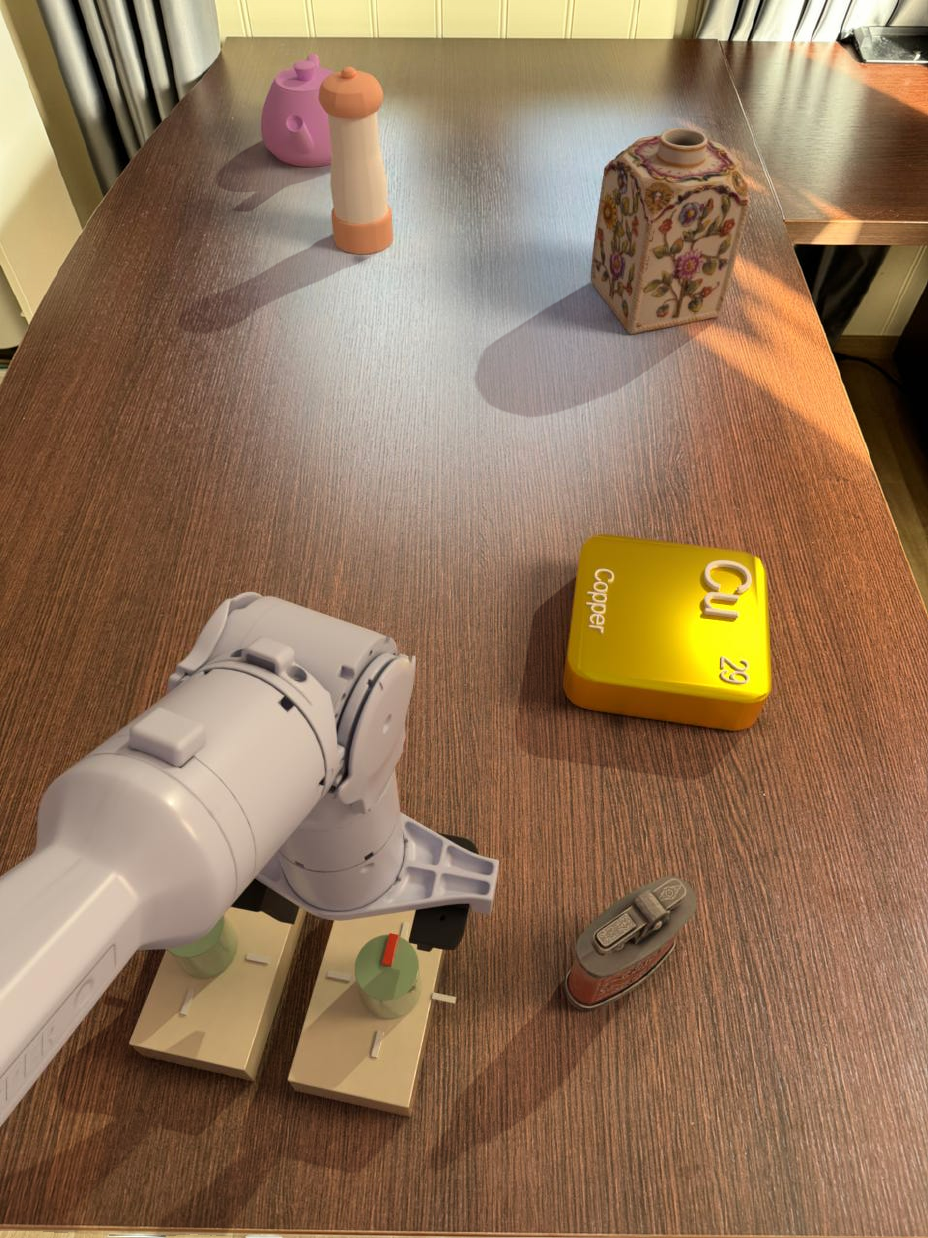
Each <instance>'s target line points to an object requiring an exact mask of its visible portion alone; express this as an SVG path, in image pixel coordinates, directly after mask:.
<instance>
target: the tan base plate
mask: <svg viewBox="0 0 928 1238" xmlns="http://www.w3.org/2000/svg"><path fill="white" fill-rule="evenodd" d="M307 913H308V912H307V911H305V910H304V909H302V908H299V911H298V914H297V917H296V920H295V924H294V925H293V924H288V923H283V922H279V921H277V920H276V919H274V918H272V917H270V916H269V915H267V914H265V913H264V912H262V911H260V912H253V911H248V910H243V909H238V908H233V907H230V908H229V909H228V910H227V911H226V912H225V915H226V917H227V919H228V920H229V922H230V924H231V926H232V927H233V929H234V931H235V933H236V935H237V941H238V946H237V951H236V955H235V957H234V959H233V961H232V962H231V964H230V965H229V966H228V967H227V968H226V969H225V970H224V971H223V972H221V973H220V974H218V975H216V976H213V977H210V978H195V977H192V976H190V975H189V974H187V973H186V972H185V971H184V970H183V969H182V968H181V966H180V965H179V964H178V963H177V962H176V960H175V959H174V958H173V957H172V955H171V954H170V953H169V952H168V950H167V949H165V951H164V954H163V957H162V959H161V962H160V964H159V967H158V969H157V971H156V975H155V977H154V979H153V982H152V984H151V987H150V990H149V992H148V994H147V997H146V999H145V1001H144V1004H143V1006H142V1009H141V1011H140V1013H139V1014H140V1015H139V1017H138V1019H137V1022H136V1024H135V1027H134V1030H133V1032H132V1035H131V1037H130V1040H129V1041H128V1045H129V1046H131V1047H132V1048H133V1049H134V1050H136V1051H137V1052H138V1053H139V1054H141V1055H142V1056H143V1057H146V1058H150V1059H155V1060H159V1061H164V1062H168V1063H171V1064H177V1065H182V1066H186V1067H191V1068H195V1069H198V1070H203V1071H208V1072H212V1073H216V1074H221V1075H225V1076H229V1077H233V1078H238V1079H243V1080H247V1081H251V1082H254V1081H255V1079H256V1076H257V1073H258V1070H259V1067H260V1064H261V1060H262V1057H263V1054H264V1051H265V1048H266V1044H267V1042H268V1038H269V1034H270V1032H271V1028H272V1025H273V1021H274V1019H275V1017H276V1016H275V1015H276V1012H277V1009H278V1006H279V1003H280V1001H281V1000H280V999H281V996H282V994H283V993H282V992H283V990H284V987H285V983H286V980H287V976H288V974H289V971H290V967H291V965H292V962H293V958H294V955H295V951H296V948H297V945H298V941H299V938H300V935H301V932H302V928H303V926H304V922H305V919H306V916H307Z"/></svg>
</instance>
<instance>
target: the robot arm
mask: <svg viewBox="0 0 928 1238" xmlns="http://www.w3.org/2000/svg"><path fill="white" fill-rule="evenodd" d="M416 668H417V657H416V655H412V656H411V658H410V657H409V656H408V654H404V653H401V652H400V653H399V651H398V646H397V643H396V640H395V639H393V637H392V636H389V635H387V634H383V633H381V632H378V631H374V630H372V629H369V628H366V627H363V626H361V625H357V624H355V623H352V622H348V621H346V620H343V619H339V618H338V617H334V616H331V615H329V614H325V613H323V612H320V611H317V610H314V609H311V608H308V607H305V606H302V605H299V604H297V603H293V602H292V601H288V600H286V599H282V598H280V597H278V596H274V595H265V596H263V595H262V594H260V593H258V592H255V591H246V592H242V593H239V594H237V595H235V596H234V597H230V598H226V599H224V601H222V602H221V604H220V605H218V607H217V608H216V609H215V610H214V611H213V612H212V615H210V617H209V619H208V620H207V621H206V624H204V626H203V628H202V629H201V632H200V633H199V635H198V637H197V639H196V641H195V643H194V645H193V647H192V648H191V650H190V652H189V653H188V654H187V656H186V657H184V659H182V660H181V661H180V662H178V663H177V664H176V665H175V669H174V671H173V673H172V674H171V675H170V676H169V677H168V680H167V693H166V694H165V695H163V696H162V697H161V698H160V699H159V700H157V701H156V702H155V703H153V704H152V705H150V706H149V707H148V708H147V709H145V710H144V711H143V712H142V713H140V714H139V715H138V716H136V717H135V718H134V719H132V720H131V721H129V722H128V723H127V724H125V726H123V727H122V728H121V729H119V730H118V731H117V732H114V733H113V734H112V735H111V736H110V737H109V738H107V739H106V740H105V741H104V742H101V744H99V745H98V746H96V747H95V748H94V749H93V750H92V751H90V752H89V753H88V754H87V755H85V756H84V757H82V758H80V760H78V761H77V762H75V763H74V764H73V765H71V767H69V768H68V769H67V770H65V771H64V772H62V773H61V774H60V775H58V776H57V777H56V778H55V779H54V780H53V781H52V782H51V783H50V784H49V785H48V787H47V789H46V790H45V791H44V794H43V795H42V798H41V800H40V802H39V806H38V811H37V812H38V813H37V819H36V844H35V847H34V851H33V852H32V853H31V854H30V855H29V856H27V857H26V858H25V859H23V860H22V861H20V862H19V863H18V864H16V865H15V866H13V867H12V868H10V869H9V870H8V871H6V872H5V873H3V874H1V876H0V1128H1V1127H2V1126H3V1124H4V1123H5V1122H6V1121H7V1120H8V1118H9V1117H10V1115H11V1114H12V1113H13V1111H14V1110H15V1109H16V1108H17V1106H18V1105H19V1104H20V1103H21V1101H22V1100H23V1099H24V1097H25V1096H26V1095H27V1093H28V1092H29V1090H30V1089H31V1088H32V1087H33V1085H34V1084H35V1083H36V1081H38V1079H39V1077H41V1075H42V1074H43V1072H44V1071H45V1070H46V1069H47V1067H48V1066H49V1065H50V1063H51V1062H52V1061H53V1060H54V1058H55V1057H56V1056H57V1054H58V1053H59V1052H60V1051H61V1049H62V1048H63V1047H64V1045H65V1044H66V1043H67V1041H68V1040H69V1039H70V1038H71V1036H72V1035H73V1034H74V1032H75V1031H76V1030H77V1028H78V1027H79V1026H80V1025H81V1023H82V1022H83V1021H84V1019H85V1018H86V1017H87V1016H88V1014H89V1013H90V1011H91V1010H92V1009H93V1008H94V1006H95V1005H96V1004H97V1002H98V1001H99V1000H100V998H101V997H102V996H103V995H104V993H106V991H107V990H108V988H109V987H110V986H111V984H112V983H113V982H114V980H115V979H116V978H117V977H118V975H119V974H120V973H121V972H122V970H123V969H124V967H125V966H126V965H127V964H128V963H129V961H130V960H131V958H132V957H133V956H134V954H135V953H136V952H137V951H151V950H166V949H171V948H177V947H182V946H185V945H189V944H191V943H193V942H196V941H198V940H200V939H201V938H202V937H204V936H205V935H206V934H208V933H209V932H210V931H211V929H212V928H213V927H214V926H215V925H216V923H217V922H218V921H219V920H220V919H221V918H222V916H223V915H224V914H225V912H226V911H227V910H228V909H229V908H230V907H233V908H238V909H243V910H248V911H253V912H260V911H262V912H264V913H265V914H267V915H269V916H270V917H272V918H274V919H276V920H277V921H279V922H283V923H288V924H293V925H294V924H295V920H296V917H297V914H298V911H299V908H302V909H304V910H305V911H307V913H309V914H311V915H312V916H315V917H318V918H320V919H323V920H329V921H334V920H337V921H343V920H353V919H359V918H366V917H372V916H379V915H385V914H392V913H398V912H405V911H411V910H415V915H414V919H413V923H412V928H411V932H410V936H409V943H412V944H417V950H422V951H426V952H430V951H432V949H433V948H436V949H442V950H446V951H454V950H456V949H457V948H458V947H459V945H460V944H461V942H462V940H463V938H464V935H465V932H466V931H465V930H466V926H467V920H468V916H469V911H471V912H472V913H476V914H482V915H486V916H491V915H492V911H493V906H494V901H495V894H496V889H497V883H498V877H499V866H500V860H499V859H497V858H496V859H495V858H493V857H492V858H491V857H489V856H488V857H487V856H484V855H480V854H479V849H478V848H477V846H476V844H475V843H474V842H473V841H472V840H470V839H468V838H466V837H464V836H463V837H462V836H458V835H451V834H446V833H441V832H436V831H434V830H432V829H431V828H429V827H427V826H425V825H424V824H422V823H420V822H418V821H417V820H415V819H413V818H411V817H410V816H408V815H406V814H405V813H404V812H401V807H400V798H399V790H398V781H397V773H396V766H397V765H398V763H399V761H400V759H401V758H402V755H403V752H404V745H405V742H406V739H407V735H406V720H407V719H406V718H407V713H408V709H409V706H410V702H411V699H412V694H413V689H414V685H415V679H416Z"/></svg>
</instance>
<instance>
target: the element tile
mask: <svg viewBox="0 0 928 1238" xmlns="http://www.w3.org/2000/svg"><path fill="white" fill-rule="evenodd" d="M768 583H769V582H768V571H767V568H766V566H765V564H764V562H763V561H762V560H761V559H760V558H759V557H758V556H756V555H754V554H752V553H749V552H747V551H743V550H737V549H729V548H721V547H715V546H714V547H713V546H705V545H698V544H689V543H681V542H674V541H668V540H660V539H659V540H658V539H653V538H652V539H650V538H642V537H635V536H629V535H628V536H627V535H619V534H611V533H600V534H599V533H598V534H593V535H591V536H590V537H588V538H587V539H585V541H584V542H583V544H582V545H581V548H580V551H579V557H578V564H577V569H576V576H575V583H574V584H575V586H574V590H573V591H574V592H573V600H572V607H571V616H570V623H569V631H568V637H567V638H568V639H567V648H566V656H565V664H564V670H563V677H562V678H563V679H562V685H563V691H564V694H565V696H566V698H567V699H568V700H569V701H570V702H571V703H572V704H573V705H574V706H577V707H579V708H581V709H584V710H588V711H593V712H602V713H608V714H614V715H622V716H629V717H635V718H641V719H648V720H656V721H661V722H662V721H663V722H669V723H677V724H682V725H689V726H697V727H703V728H710V729H715V730H716V729H717V730H723V731H728V732H729V731H730V732H738V731H742V730H746V729H749V728H750V727H751V726H753V725H755V723H756V721H757V719H758V718H759V715H760V713H761V711H762V709H763V708H764V705H765V704H766V701H767V699H768V698H769V696H770V694H771V691H772V687H773V675H772V674H773V673H772V672H773V671H772V651H771V631H770V630H771V629H770V606H769V585H768Z"/></svg>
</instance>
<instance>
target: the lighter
mask: <svg viewBox="0 0 928 1238" xmlns="http://www.w3.org/2000/svg"><path fill="white" fill-rule="evenodd" d="M697 908H698V899H697V895H696V893H695V891H694V889H693V888H692V886H691V884H689V883H688V882H686V880H684V879H682V878H680V877H678V876H674V875H667V876H663V877H660V878H658V879H656V880H654V881H651V882H649V883H647V884H644V885H642V886H639V887H638V888H636V889H635V890H633V891H631V892H629V893H627V894H626V895H624V896H623V897H621V898H619V899H618V900H616V901H615V902H614V903H613V904H611V905H610V906H609V907H607V909H605V910H604V911H603V912H602V913H600V914H599V915H598V916H597V917H596V918H595V919H594V920H593V921H592V922H591V923H590V924H589V925H588V926H587V927H586V929H584V931H583V932H581V934H580V935H579V937H578V939H577V940H576V943H575V948H574V955H575V957H574V962H573V964H572V967H571V968H570V969H569V971H568V972H567V974H566V976H565V979H564V984H563V988H564V993H565V995H566V998H567V999H568V1002H569V1003H570V1004H571V1005H572V1006H573V1007H574V1008H576V1009H577V1010H580V1011H582V1012H586V1013H589V1012H594V1011H596V1010H598V1009H601V1008H603V1007H605V1006H607V1005H609V1004H612V1003H613V1002H616V1001H618V1000H620V999H621V998H622V997H624V996H626V995H627V994H630V993H631V992H632V991H634V990H635V989H637V988H638V987H639V986H640V985H642V984H643V983H644V982H645V981H647V980H648V979H649V978H650V977H651V976H653V974H654V973H655V972H657V970H658V969H660V967H661V965H662V964H663V963H665V961H666V960H667V959H668V957H669V956H670V955H671V954H672V952H673V950H674V948H675V946H676V941H677V940H676V939H677V936H678V934H679V933H680V931H681V930H682V929H683V928H684V927H685V926H686V925H687V924H688V922H689V921H690V920H691V919H692V918H693V916H694V914H695V913H696V910H697Z"/></svg>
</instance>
